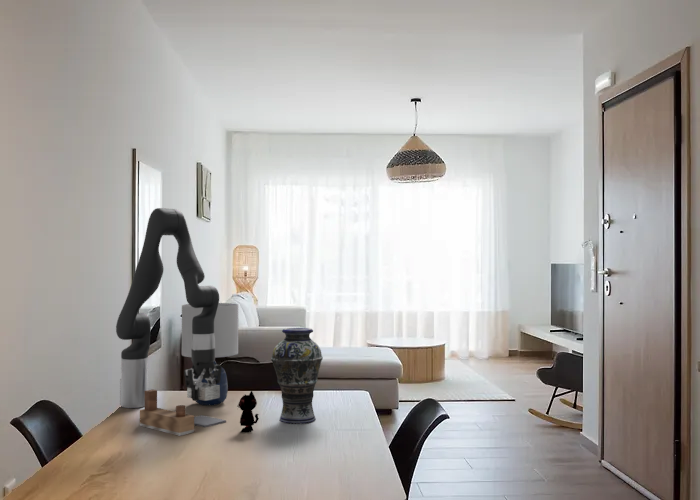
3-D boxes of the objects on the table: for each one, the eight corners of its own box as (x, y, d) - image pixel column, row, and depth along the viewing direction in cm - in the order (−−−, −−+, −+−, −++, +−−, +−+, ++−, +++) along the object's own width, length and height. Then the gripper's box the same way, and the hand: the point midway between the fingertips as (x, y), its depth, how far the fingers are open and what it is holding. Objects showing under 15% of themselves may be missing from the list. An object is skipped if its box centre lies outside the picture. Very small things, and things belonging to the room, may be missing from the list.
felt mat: (180, 421, 227) (180, 420, 227) (201, 416, 234) (201, 415, 234) (204, 427, 220) (204, 425, 220) (226, 422, 227) (226, 420, 227)
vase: (261, 423, 225) (261, 330, 225) (286, 412, 241) (286, 325, 241) (308, 428, 219) (308, 332, 219) (330, 416, 235) (330, 327, 235)
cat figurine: (241, 427, 219) (241, 389, 220) (262, 428, 218) (262, 390, 218) (233, 433, 213) (233, 393, 213) (254, 434, 211) (254, 394, 211)
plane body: (139, 425, 222) (139, 391, 222) (154, 422, 226) (154, 388, 226) (179, 435, 210) (179, 399, 210) (194, 432, 214) (194, 396, 214)
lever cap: (187, 397, 227) (187, 383, 227) (201, 394, 232) (201, 380, 232) (205, 400, 222) (205, 386, 222) (219, 397, 226) (219, 383, 226)
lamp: (232, 410, 245) (232, 305, 245) (175, 409, 245) (175, 305, 245) (242, 398, 265) (242, 301, 265) (189, 398, 265) (189, 301, 266)
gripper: (212, 344, 235) (212, 394, 235) (178, 348, 224) (178, 401, 224) (227, 345, 230) (227, 396, 230) (193, 350, 219) (193, 404, 219)
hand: (203, 398), depth 227 cm, fingers closed on lever cap, 6 cm apart
